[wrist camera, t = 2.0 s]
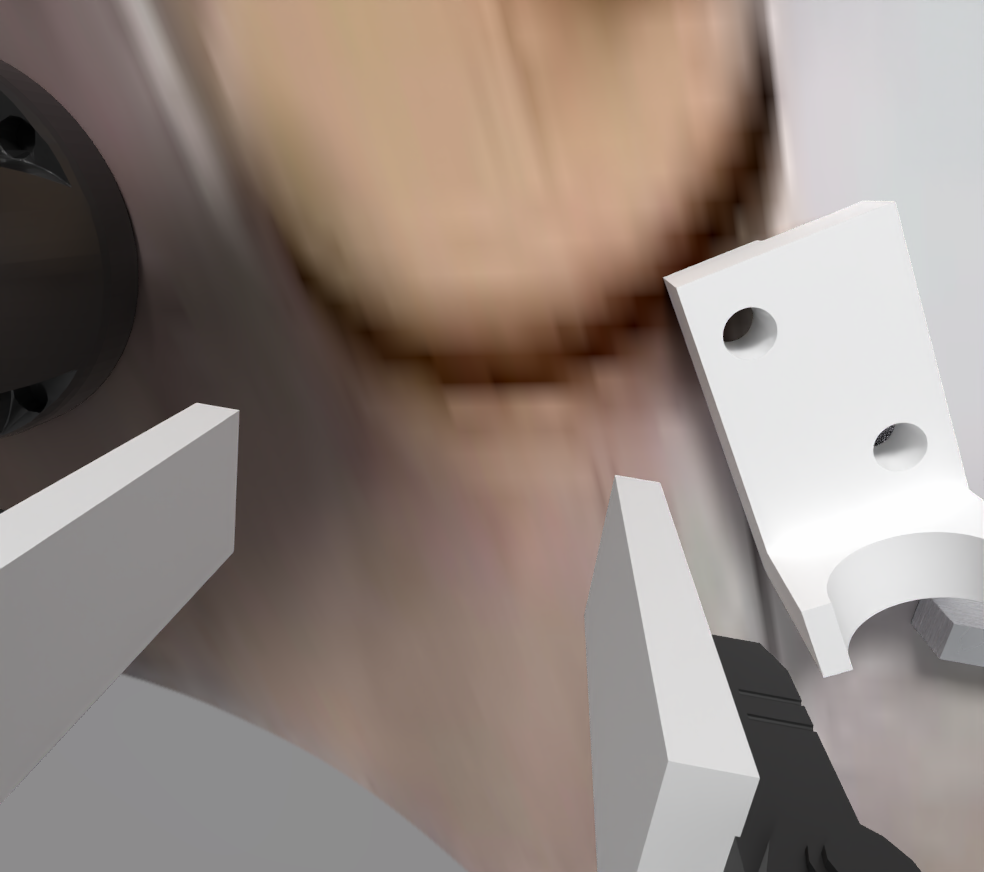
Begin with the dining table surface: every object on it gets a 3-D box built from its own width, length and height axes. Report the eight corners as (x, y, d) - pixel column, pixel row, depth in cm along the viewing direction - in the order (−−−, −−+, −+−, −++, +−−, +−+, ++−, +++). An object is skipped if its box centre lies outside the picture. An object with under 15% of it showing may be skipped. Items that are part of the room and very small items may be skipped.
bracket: (937, 512, 30) (1057, 613, 22) (762, 566, 31) (823, 678, 24) (852, 200, 26) (961, 201, 19) (662, 276, 28) (697, 304, 21)
